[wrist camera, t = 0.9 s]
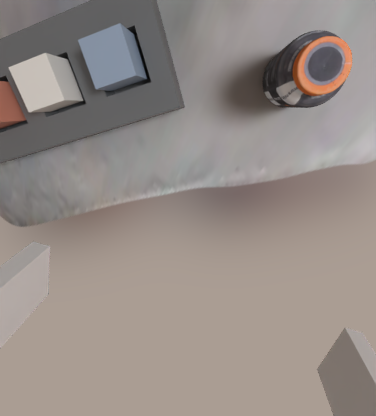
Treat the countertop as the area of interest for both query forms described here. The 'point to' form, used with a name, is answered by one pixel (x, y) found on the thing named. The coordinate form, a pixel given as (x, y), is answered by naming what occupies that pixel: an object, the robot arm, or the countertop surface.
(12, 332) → the robot arm
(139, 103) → the frame
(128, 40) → the key blue
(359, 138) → the countertop surface
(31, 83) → the key white
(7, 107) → the key red
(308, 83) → the pill bottle
